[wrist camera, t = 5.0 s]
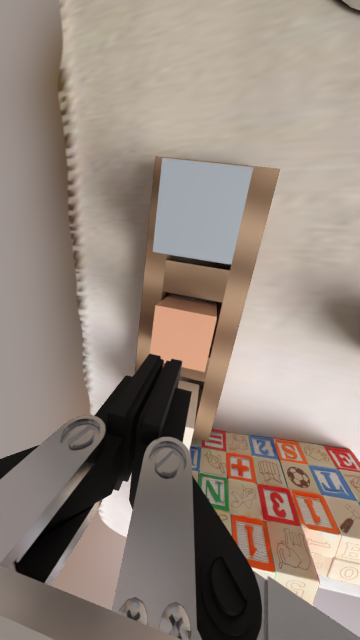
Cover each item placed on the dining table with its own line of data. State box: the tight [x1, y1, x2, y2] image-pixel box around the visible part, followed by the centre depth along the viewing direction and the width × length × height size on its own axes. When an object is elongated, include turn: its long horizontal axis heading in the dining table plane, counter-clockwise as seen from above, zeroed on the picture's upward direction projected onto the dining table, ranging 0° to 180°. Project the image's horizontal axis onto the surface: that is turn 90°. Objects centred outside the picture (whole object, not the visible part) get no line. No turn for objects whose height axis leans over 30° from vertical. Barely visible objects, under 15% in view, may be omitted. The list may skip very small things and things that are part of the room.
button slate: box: [153, 158, 253, 264], centre depth 14 cm, size 5×5×6 cm
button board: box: [135, 156, 280, 442], centre depth 21 cm, size 28×10×3 cm, turn 171°
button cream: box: [178, 380, 199, 450], centre depth 20 cm, size 5×5×6 cm
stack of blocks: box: [189, 430, 360, 606], centre depth 21 cm, size 21×6×12 cm, turn 90°
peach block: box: [150, 294, 217, 372], centre depth 19 cm, size 5×5×6 cm
